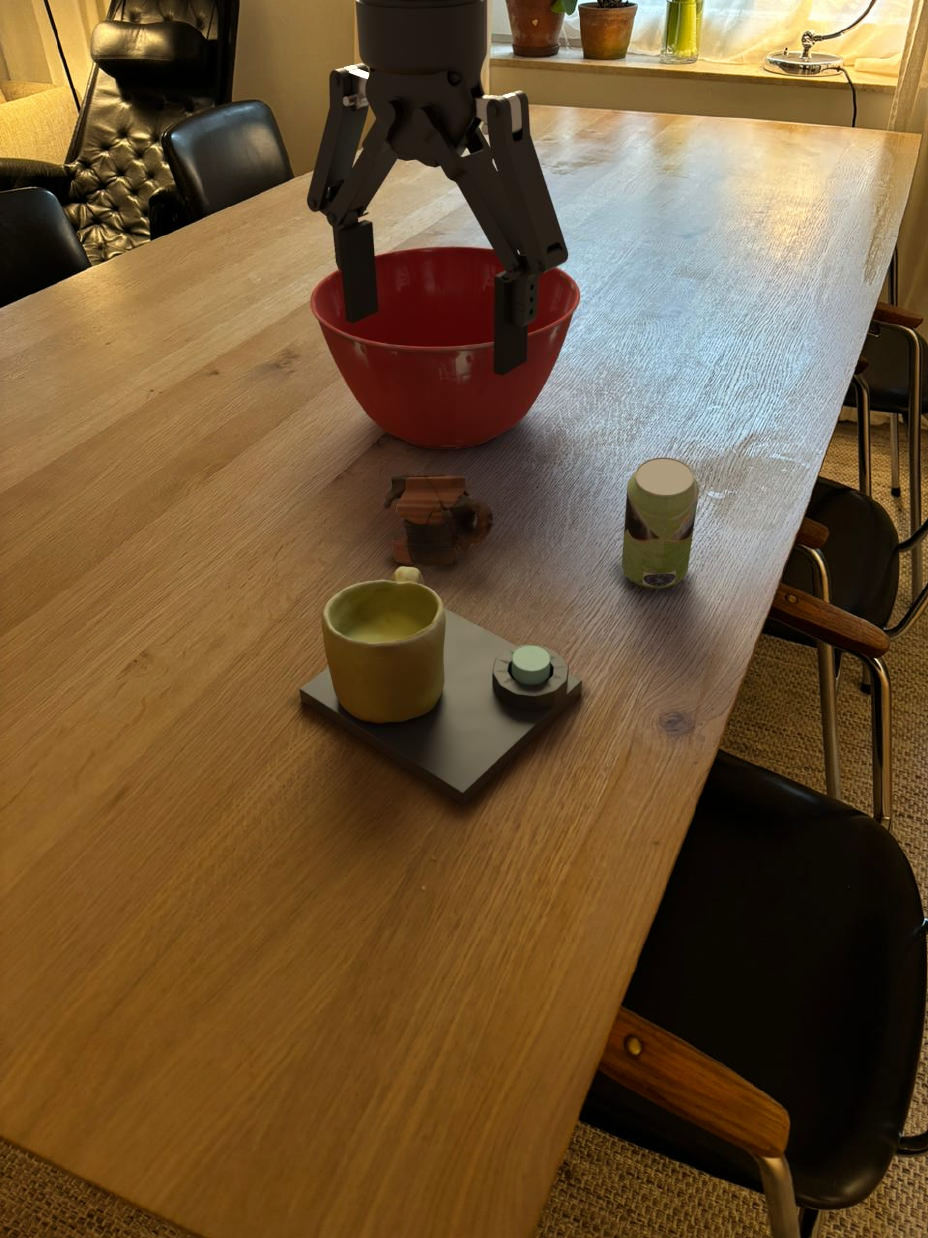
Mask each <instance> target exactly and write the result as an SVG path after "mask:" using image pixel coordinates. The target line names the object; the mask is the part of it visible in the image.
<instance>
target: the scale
mask: <svg viewBox="0 0 928 1238" xmlns="http://www.w3.org/2000/svg"><path fill="white" fill-rule="evenodd" d="M444 609H445V615H446V629H445V641H444V675H445V680H444V687H443V691H442V693H441V696H440V698H439V699H438V701H437V703H436V704H435V706H434V708H433V709H431V710H430V711H429V712H428V713H426V714H423V715H421V716H419V717H416V718H412V719H408V720H406V721H403V722H386V723H383V724H379V723H373V722H368V721H363V720H360V719H358V718H356V717H354V716H353V715H352V714H350V713H349V712H348V711H347V710H346V709H344V708H343V706H342V705H341V704H340V702H339V701H338V699H337V697H336V695H335V692H334V688H333V684H332V680H331V675H330V671H329V666H327V667H326V668H325V669H324V670H322V671H321V672H319V673H318V674H316V676H314V677H313V678H311V679H310V680H309V681H307V682H306V683H304V685H302V686H301V687H299V688H298V691H299V696H300V702H302V703H303V704H305V705H307V706H308V707H310V708H311V709H313V710H314V711H316V712H318V713H319V714H321V716H324V717H325V718H327V719H328V720H329V721H331V722H333V723H334V724H336V725H338V726H339V727H340V728H343V729H344V730H345V731H347V732H348V733H350V734H351V735H353V736H355V737H356V738H358V739H359V740H361V741H362V742H364V743H365V744H366V745H369V746H370V747H372V748H373V749H375V750H376V751H378V752H379V753H380V754H382V755H384V756H385V757H387V758H389V759H390V760H391V761H393V762H395V763H397V764H398V765H399V766H401V767H403V768H404V769H405V770H407V771H408V772H410V773H412V774H413V775H415V776H416V777H418V778H419V779H420V780H423V781H424V782H426V783H427V784H429V785H430V786H431V787H433V788H435V789H437V790H438V791H439V792H441V793H443V794H444V795H446V796H447V797H449V798H450V799H452V800H454V801H455V802H456V803H458V804H460V805H461V806H464V805H465V804H467V802H469V801H470V800H471V799H472V798H473V797H474V796H475V795H476V794H477V793H478V792H480V790H481V789H483V787H485V785H487V784H488V783H489V782H490V780H492V779H493V778H494V777H495V776H496V775H497V774H498V773H499V772H500V771H501V770H503V768H504V767H505V766H506V765H507V764H509V762H510V761H512V759H514V757H516V756H517V755H518V754H519V753H520V752H521V751H522V750H523V749H524V748H525V747H526V746H527V745H528V744H530V742H531V741H533V739H535V737H536V736H538V735H539V734H540V733H541V732H542V731H543V730H544V729H545V728H546V727H547V726H548V725H549V724H550V723H551V722H552V721H553V720H554V719H556V717H557V716H558V715H559V714H560V713H562V711H564V710H565V709H566V707H568V706H569V705H570V704H571V703H572V702H573V701H574V700H575V699H576V698H578V696H580V695H581V694H582V688H583V680H582V679H581V678H579V677H577V676H575V675H574V674H571V673H570V672H569V671H570V667H569V665H568V662H566V660H565V659H564V657H563V656H562V654H560V653H559V652H557V651H555V650H553V649H551V648H549V647H547V646H544V645H536V644H529V643H526V644H525V643H523V644H519V645H516V644H514V643H513V642H511V641H508V640H507V639H505V638H503V637H501V636H499V635H497V634H495V633H493V632H491V631H489V630H487V629H486V628H485V627H482V626H480V625H478V624H476V623H474V622H472V621H470V620H469V619H467V618H465V617H463V616H461V615H459V614H457V613H455V612H454V611H452V610H450V609H448V608H446V607H444ZM524 646H537V647H540V648H542V649H544V650H545V651H547V652H548V654H549V656H550V674H549V677H548V679H547V680H546V681H545V682H543V683H541V684H538V685H525V684H521V683H519V682H518V681H516V680H515V679H514V677H513V675H512V656H513V654H514V652H515V651H516V650H517V649H519V648H521V647H524Z"/></svg>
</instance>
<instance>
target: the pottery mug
mask: <svg viewBox="0 0 928 1238" xmlns="http://www.w3.org/2000/svg"><path fill="white" fill-rule="evenodd" d="M467 481H468V477H466V476H463V475H445V474H444V475H443V474H442V475H441V474H437V475H436V474H433V475H429V474H424V475H422V474H421V475H420V474H419V475H418V474H417V475H394V476H391V477H390V482H389V483H391V488H390V489H389V490H388V492H387V493H386V494H385V496H384V500H383V503H382V506H383V508H384V509H385V510H388V509H390V508H391V506H392V503H393V502H395V500H398V502H397V505H396V513H397V515H398V517H399V518H401V519H402V520H403V527H404V530H405V535H406V538H404V539H403V538H401V539H398V538H394V539H392V540H391V549H392V553H393V558H394V561H395V562H396V563H398V564H404V565H407V564H408V565H422V566H425V567H426V566H430V567H431V566H432V567H433V566H434V567H435V566H448V565H452V564H453V563H454V554H455V551H456V550H455V549H456V547H457V548H459V550H460V551H463V552H466V551H468V550H469V549H470V548H471V546H472V545H477V544H479V543H481V542H483V541H484V540H485V539H487V537H488V536H489V535H490V533H491V531H492V529H493V526H494V525H495V521H494V519H495V518H494V512H493V509H492V508H491V506H490V505H489V504H488V503H487V502H486V501H485V500H483V499H480V498H472V497H471V492H470V491H469V489H468V488H467ZM445 511H448V512H449V514H450V516H451V517H450V519H447V516H446V512H445ZM475 521H476V524H475Z"/></svg>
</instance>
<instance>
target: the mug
mask: <svg viewBox="0 0 928 1238" xmlns="http://www.w3.org/2000/svg"><path fill="white" fill-rule="evenodd" d="M424 582H425V581H424V578H423V576H422V573H421V571H420V569H418V568H416V567H412V566H403V565H402V566H399V567H398V568H397V569H395V570H394V573H393V574H392V577H391V580H389V579H388V580H387V579H376V580H369V581H368V580H367V581H363V582H357V583H354V584H352V585H350V586H349V585H348V586H347V587H345V588H343V589H342V590H340V591H338V592H337V593H335V594H334V595H333V596H332V597H330V599H329V600H328V601H327V602H326V603H325V604H324V606H323V609H322V612H321V630H322V639H323V645H324V652H325V658H326V662H327V667H329V671H330V675H331V680H332V684H333V688H334V692H335V695H336V697H337V699H338V701H339V702H340V704H341V705H342V706H343V708H344V709H346V710H347V711H348V712H349V713H350V714H352V715H353V716H354V717H356V718H358V719H360V720H363V721H368V722H373V723H379V724H383V723H386V722H403V721H406V720H408V719H412V718H416V717H419V716H421V715H423V714H426V713H428V712H429V711H430V710H431V709H433V708H434V706H435V704H436V703H437V701H438V699H439V698H440V696H441V693H442V691H443V687H444V680H445V675H444V641H445V629H446V615H445V609H444V608H445V605H444V603H443V600H442V599H441V597H440V596H439V594H438V593H436V591H435V590H433V589H432V588H430V587H429V586H426V585H425V583H424Z"/></svg>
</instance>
